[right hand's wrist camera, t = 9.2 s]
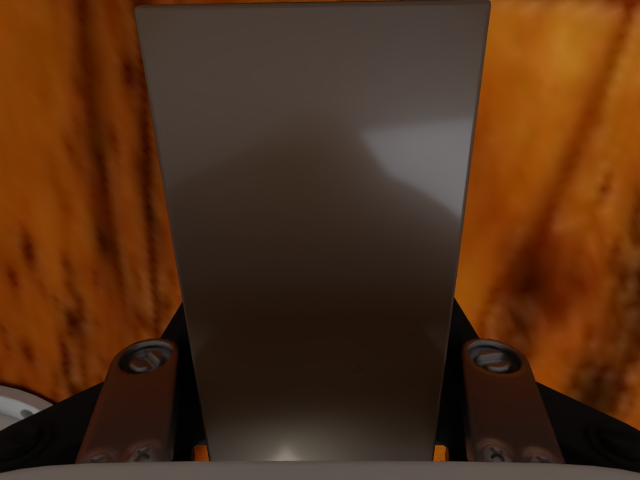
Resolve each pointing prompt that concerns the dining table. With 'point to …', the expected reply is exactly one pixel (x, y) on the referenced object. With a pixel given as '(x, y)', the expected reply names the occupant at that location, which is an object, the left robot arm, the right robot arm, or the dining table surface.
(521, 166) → the dining table surface
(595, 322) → the dining table surface
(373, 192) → the beam
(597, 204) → the dining table surface
